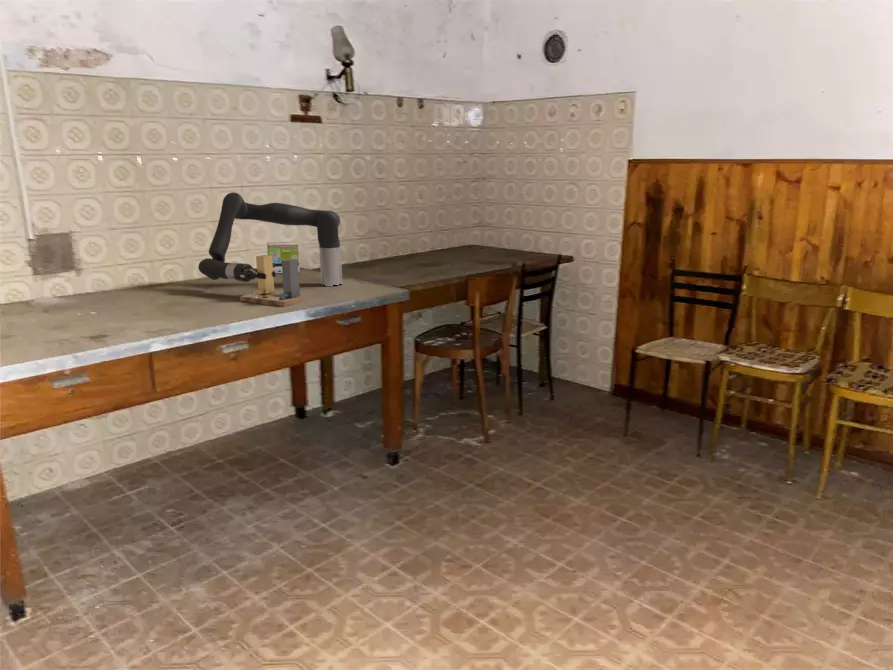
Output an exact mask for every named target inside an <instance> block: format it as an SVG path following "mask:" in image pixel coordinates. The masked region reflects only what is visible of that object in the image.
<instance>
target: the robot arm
mask: <svg viewBox="0 0 893 670" xmlns="http://www.w3.org/2000/svg"><path fill="white" fill-rule="evenodd" d="M235 219H236V220H248V221H249V220H250V221H251V220H253V221H260V222H265V223H271V224H277V225H283V226H308V227H309V226H310V227H315V228H316V230H317V231H316V232H317V241H318V246H319V247H318V248H319V265H320V267H319V269H320V284H322V285H321V286H323V285H325V286H324V287H334V286H333V285H338V286H340V285H339V284H343V267H342V263H341V262H342V261H341V259H342V258H341V241H340V237H339V227H340V225H341V217H340V216H339V214H338V213H337V212H336V211H333V210H324V209H323V210H322V209H321V210H320V209H310V208H306V207H302V206H298V205H292V204H289V203H288V204H287V203H281V202H270V203H264V204H253V203H249V202H246V201H245V200H244V198H243V197H242V195H240V194H239V193H237V192H229V193H227V194H226V195H225V196H224V197H223V200H222V205H221V210H220V215H219V219H218V223H217V226H216V229H215V231H214V232H215V233H214V236H213V239H212V241H211V244H210V247H209V249H208V254H209V255H210V257H211V258H204V259H202V260H201V261H199V263H198V271H199V272H200V273H201V274H202V275H204V276H205V277H206V278H209V279H211V280H212V281H217V280H219V279H223V280H230V281H231V280H232V281H236V282H242V283H243V282H246V283H247V282H250V281H252V280H258V279H266V274H265V273H257V267H253V266H252V265H251V264H248V263H240V262H225V260H226V254H227V251H228V249H229V246H230V242H231V239H232V231H233V226H234V222H235ZM276 274H277V273H276V272H275V271H273V277H274V278H276V276H277V275H276Z"/></svg>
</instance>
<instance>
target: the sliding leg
mask: <svg viewBox="0 0 893 670" xmlns="http://www.w3.org/2000/svg"><path fill="white" fill-rule="evenodd" d="M255 263H256V268H257V273H265V274H266V279H257V286H258V289H257V290H253V291H252V293H253V294H254V296H256V295H258V294H262V293H270V292H275V282H274V281H275V279H274V278H275V277H273V263H272V255H268V254H262V255H261V254H260V255H257V256H255Z"/></svg>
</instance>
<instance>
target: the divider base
mask: <svg viewBox="0 0 893 670" xmlns="http://www.w3.org/2000/svg"><path fill="white" fill-rule="evenodd" d="M299 274H300V272H299V273H298V260H297V259H287V260H282V273H281V275H282V286H283V292H275V291H274V292H270V293H262V294H258V295H256V296H254V294H253V292H252V293H248V294H243V295H240V296H239V301H240V302H242V301H245V302H244V303H249V302H253V303H252V304H257V303H259V304H258V305H265V304H267V305H268V306H273V305H276V306H275V307H281V306H283V307H282V308H285V306H286V307H289V306H292V305H291V304H293V305H296V304H299V303H302V301H303V302H306V295H301V291H300V277H299ZM298 302H299V303H298ZM295 303H296V304H295ZM267 305H266V306H267ZM288 305H289V306H288Z"/></svg>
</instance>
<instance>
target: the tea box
mask: <svg viewBox="0 0 893 670" xmlns="http://www.w3.org/2000/svg"><path fill="white" fill-rule="evenodd" d="M266 243H267V244H266V248H267V255H272V263H273V271H275V272H276V274H282V260H287V259H297V260H298V272H299V273H300V255H299V254H300V253H299V251H300V250H299V243H298V241H283V242H281V241H278V242H266Z"/></svg>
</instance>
